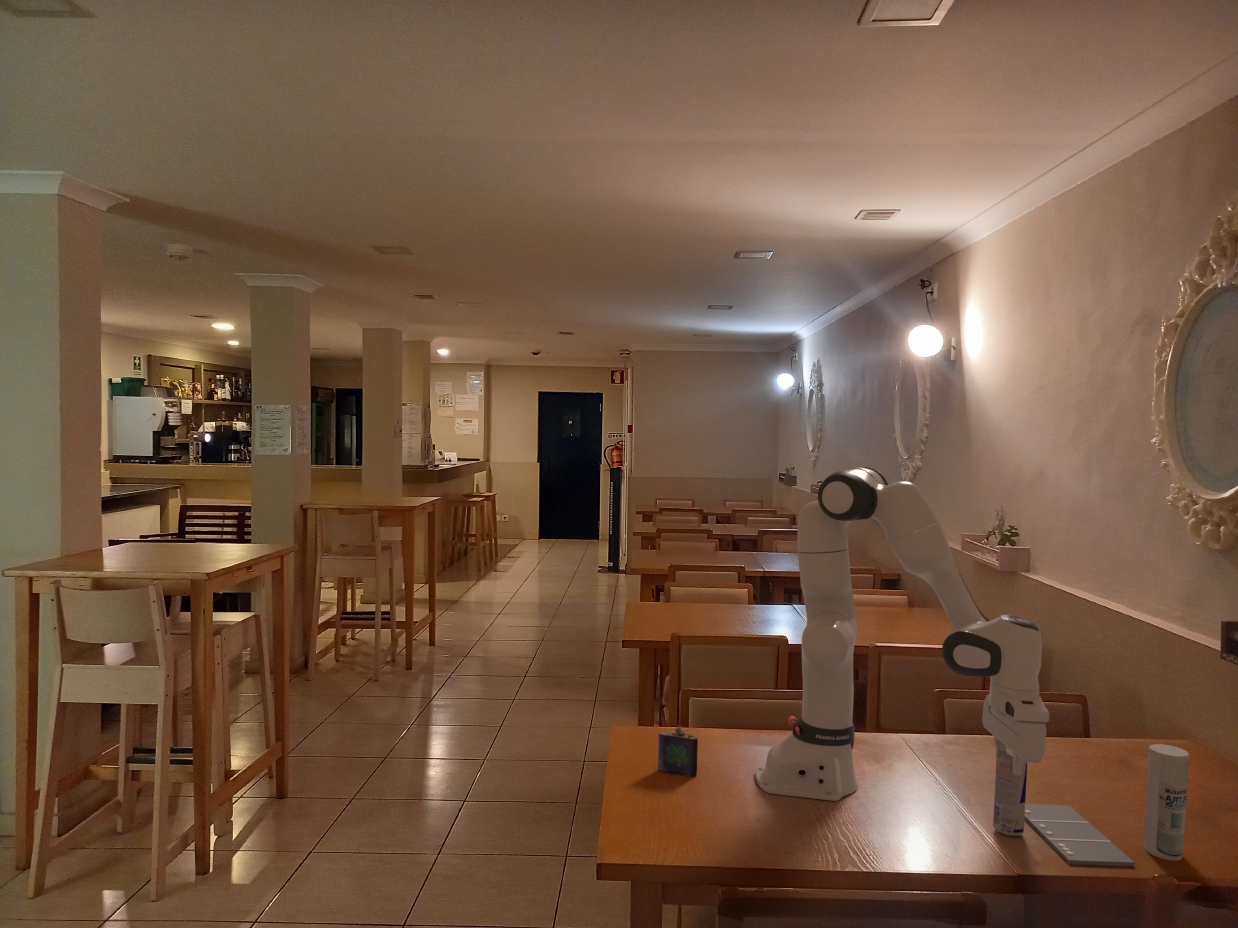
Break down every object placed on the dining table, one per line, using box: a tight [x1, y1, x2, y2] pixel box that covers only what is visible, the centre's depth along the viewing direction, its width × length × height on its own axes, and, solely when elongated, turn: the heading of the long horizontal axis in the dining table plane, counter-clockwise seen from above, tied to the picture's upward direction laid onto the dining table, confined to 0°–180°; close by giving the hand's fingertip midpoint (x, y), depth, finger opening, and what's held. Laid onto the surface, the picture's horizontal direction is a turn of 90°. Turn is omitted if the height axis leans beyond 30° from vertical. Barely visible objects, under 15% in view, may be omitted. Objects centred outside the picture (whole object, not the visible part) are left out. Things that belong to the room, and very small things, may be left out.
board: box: [1024, 803, 1135, 868], centre depth 170 cm, size 12×24×1 cm, turn 179°
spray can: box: [1144, 743, 1190, 861], centre depth 164 cm, size 6×6×20 cm
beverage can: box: [992, 751, 1028, 837], centre depth 170 cm, size 6×6×15 cm
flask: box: [657, 725, 699, 778], centre depth 196 cm, size 9×3×11 cm, turn 71°
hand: (1008, 766), depth 170 cm, fingers closed on beverage can, 5 cm apart
